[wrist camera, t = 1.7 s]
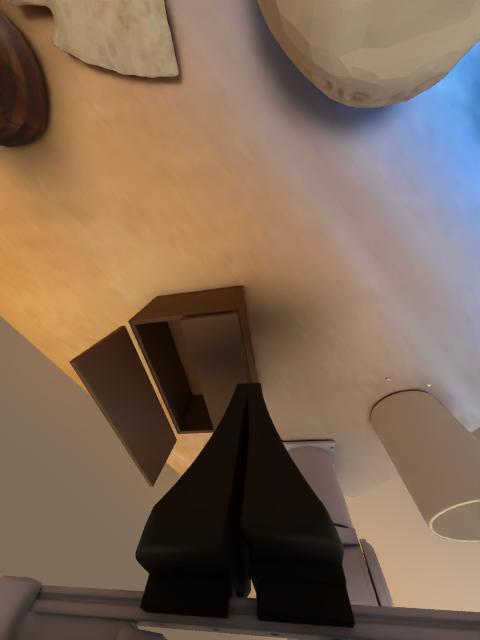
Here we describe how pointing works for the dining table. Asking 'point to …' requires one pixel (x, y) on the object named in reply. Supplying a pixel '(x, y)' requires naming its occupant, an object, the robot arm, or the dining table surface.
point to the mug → (433, 461)
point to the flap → (127, 400)
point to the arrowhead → (114, 34)
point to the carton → (197, 353)
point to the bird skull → (373, 44)
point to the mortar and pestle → (19, 89)
